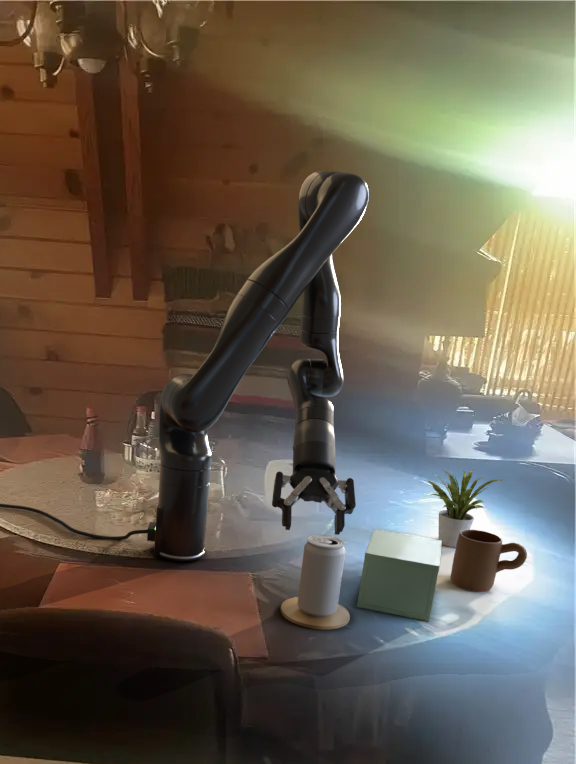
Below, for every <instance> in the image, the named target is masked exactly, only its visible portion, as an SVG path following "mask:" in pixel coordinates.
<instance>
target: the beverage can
mask: <svg viewBox="0 0 576 764" xmlns="http://www.w3.org/2000/svg"><path fill="white" fill-rule="evenodd" d="M346 552H347V551H346V548H345V541H344V540H342V539H341V538H339V537H336V536H333V535H327V534H313V535H310V536H308V537H307V541H306V543H305V544H304V546H303V554H302V560H301V561H302V562H301V568H300V569H301V570H300V578H299V587H298V595H297V597H298V602H297V604H298V607H299V608H300V609H301V610H302V611H303V612H304V613H306V614H308V615H311V616H316V617H327V616H330V615H332V614H333V613H335V612H336V611H337V608H338V604H339V600H340V593H341V587H342V579H343V572H344V565H345V559H346V558H345V557H346Z"/></svg>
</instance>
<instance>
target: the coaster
mask: <svg viewBox="0 0 576 764" xmlns="http://www.w3.org/2000/svg"><path fill="white" fill-rule="evenodd" d="M297 602H298V596H294V597H290V598H287V599H285V600H283V602H282V603H281V604H280V613H281V615H282V616H283V617H284V618H285V619H286V620H287V621H289V622H291V623H293V624H295V625H297V626H300V627H303V628H307V629H313V630H323V631H325V630H326V631H328V630H329V631H330V630H337V629H340V628H344V627H345V626H347V625H348V624H349V623H350V619H351V615H350V612H349V611H348V609H347V608H346V607H344V606H343V605H341V604H339V603H338V608H337V611H336V612H335V613H333V614H332V615H330V616H327V617H316V616H311V615H308V614H306V613H304V612H303V611H302V610H301V609H300V608H299V607H298V604H297Z"/></svg>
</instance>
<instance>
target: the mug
mask: <svg viewBox="0 0 576 764" xmlns="http://www.w3.org/2000/svg"><path fill="white" fill-rule="evenodd" d="M511 552H512V553H513V552H516V553H517V556H516V557H515V558H514V559H500V557H501V554H507V553H511ZM527 558H528V551H527V549H526V548H525V546H524V545H522V544H520V543H517V542H508V543H503V538H502V537H500V536H499V535H497V534H495V533H492V532H489V531H485V530H480V529H470V530H462V531H461V532H460V533H459V537H458V540H457V544H456V547H455V548H454V555H453V558H452V559H453V560H452V565H451V569H450V570H451V571H450V581H451V583H453V584H454V585H455V586H456V587H459V588H461V589H464V590H468V591H472V592H487V591H490V590H492V589H493V587H494V584H495V580H496V575H497V573H499V572H502V571H504V570H507V571H509V570H515V569H519V568H520V567H522V566H523V565H524V563H526V560H527Z"/></svg>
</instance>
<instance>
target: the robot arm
mask: <svg viewBox="0 0 576 764" xmlns="http://www.w3.org/2000/svg"><path fill="white" fill-rule="evenodd" d="M369 198H370V196H369V188H368V184H367V182H366V180H365V179H364V178H363V177H361V176H360V175H358V174H355V173H352V172H347V171H334V170H316V171H314V172H312V173H310V174H309V175H307V177H306V178H305V179H304V180H303V183H302V184H301V187H300V189H299V193H298V202H297V203H298V204H297V209H298V211H297V212H298V225H299V233H298V234H297V235H296V236H295V237H294V238H293V239H292V240H291V241H290V242H289V243H288V244H286V245H285V246H284V247H282V248H281V249H280V250H278V251H277V252H275V253H274V254H273V255H272V256H270V257H269V258H267V259H266V260H265V261H264V262H262V263H261V264H259V266H258V267H256V268H255V270H253V272H252V273H251V274H250V275H249V276H248V278H247V279H246V281H245V282H244V283H243V284H242V285H241V287H240V289H239V291H237V293H236V294H235V296H234V297H233V299H232V301H231V303H230V304H229V307H228V308H227V311H226V313H225V316H224V319H223V321H222V325H221V328H220V331H219V333H218V336H217V339H216V341H215V344H214V346H213V348H212V349H211V351H210V352H209V354H208V356H207V357H206V358H205V359H204V361H203V362H202V363H201V365H200V366H199V367H198V369H196V371H195V372H194V374H191V373H181V374H177V375H175V376H173V377H172V378H170V379H169V380H168V382H167V383H166V384H165V385H164V386H163V390H162V392H161V396H160V400H159V420H158V446H159V451H160V468H159V483H158V484H159V485H158V498H157V506H156V516H155V521H149V523H148V526H147V528H146V529H136V530H135V529H134V530H131V531H128V532H127V533H126V534H125V535H119V536H111V535H110V536H108V535H100V534H94V533H91V532H85V531H82V530H80V529H76V528H73V527H71V526H70V525H69V524H67V523H66V522H65V521H63V520H62V519H59V518H57V517H55V516H53V515H52V514H49V513H48V512H45V511H43V510H40V509H37V508H34V507H30V506H23V505H16V504H8V503H7V504H6V503H0V508H3V509H5V508H6V509H13V510H21V511H28V512H32V513H36V514H40V515H42V516H44V517H46V518H48V519H50V520H52V521H53V522H55V523H58V524H60V525H61V526H63V527H64V528H65V529H67V530H68V531H70V532H72V533H74V534H76V535H78V536H79V535H80V536H84V537H87V538H92V539H99V540H113V541H123V540H127V539H129V538H130V537H131V536H134V535H140V534H146V542H154V545H153V556H154V557H157V558H162V559H164V560H167V561H173V562H180V563H181V562H185V563H186V562H193V561H198V560H200V559H202V558H204V557H205V551H204V549H205V546H206V532H207V521H208V520H207V518H208V506H209V496H210V484H211V483H210V482H211V472H212V462H213V454H212V449H211V447H210V444H209V439H208V429H210V428H211V427H213V426H214V424H216V423H217V421H218V420H219V418H220V417H221V415H222V414H223V412H224V411H225V408H226V407H227V406H228V403H229V402H230V400H231V398H232V396H233V394H234V393H235V391H236V390H237V387H238V386H239V385H240V382H241V381H242V379H243V377H244V376H245V375H246V373H247V371H248V370H249V369H250V367H251V366H252V364H253V363H254V361H255V360H256V359H257V357H258V356H259V355H260V354H261V352H262V351H263V350H264V348H265V347H266V345H267V343H268V342H269V341H270V339H271V338H272V337H273V335H274V334H275V333H276V332H277V331H278V329H279V328H280V327H281V325H282V323H283V322H284V321H285V319H286V318H287V316H288V315H289V314H290V312H291V310H292V309H293V308H294V306H295V305H296V303H297V301H298V300H299V299H300V298H301V295H302V304H301V316H300V329H299V341H300V344H301V345H302V346H303V347H306V348H309V349H312V350H316V351H319V352H321V353H323V354H324V356H325V358H324V359H323V358H297V359H295V360H293V361H292V362H291V363H290V364H289V366H288V369H287V372H286V379H287V386H288V388H289V392H290V395H291V398H292V401H293V404H294V411H295V420H294V422H295V424H294V425H295V426H294V435H293V445H292V474H291V475H287V474H284V473H283V472H282V471H280V470H279V471H277V472H276V473H275V477H274V480H273V490H272V491H273V492H272V498H271V499H272V500H271V506H272V507H273V508H279V509H280V510H281V525H282V527H284V529H285V531H290V530H291V527H292V511H293V510H292V509H293V506H294V505H296V504H297V503H298V502H299V501H300V500H303V502H315V503H319V504H320V503H323V502H324V503H325V505H326V506H327V507H328V508H329V509H331V510H332V511H333V514H334V535H336V536H339V535H340V533H342V532H343V530H344V528H345V526H346V524H345V523H346V522H345V521H346V520H345V519H346V518H345V515H352V514H353V513H354V511H355V508H356V506H357V503H356V492H355V481H354V479H353V478H352V477H348V478H347V479H346V480H343V479H341V480H340V479H338V478H337V476H336V436H335V427H334V426H335V425H334V424H335V423H334V422H335V421H334V420H335V418H334V417H335V411H334V409H335V408H334V405H333V404H332V401H330V400H329V399H327V398H333V397H335V396H336V395H338V394H339V393H340V391H341V390H342V388H343V385H344V371H343V367H342V362H341V358H340V352H339V330H340V329H339V328H340V318H341V305H342V303H341V293H340V287H339V284H338V278H337V276H336V271H335V267H334V266H335V265H334V262H333V254H334V252H335V251H336V250H337V249H338V248H339V247H340V245H341V244H342V243H343V242H344V241H345V240H346V239H347V237H348V236H349V235H350V234H351V233H352V232H353V230H354V229H355V228H356V227H357V225H358V224H360V221H362V218H363V216H364V214H365V212H366V209H367V207H368V205H369V204H368V203H369ZM287 484H289V485H290V486H291V488H292V489H293V490H292V491H291V492H290V494H289V495H288V496H287V497H286V498H283V497H282V489H283V488H285V487H286V485H287ZM337 488H339V489H340V492H341V493H342V494H344V502H343V501H342V500H341V498H340V497H339V495H338V492H337V491H335V490H336V489H337Z"/></svg>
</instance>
